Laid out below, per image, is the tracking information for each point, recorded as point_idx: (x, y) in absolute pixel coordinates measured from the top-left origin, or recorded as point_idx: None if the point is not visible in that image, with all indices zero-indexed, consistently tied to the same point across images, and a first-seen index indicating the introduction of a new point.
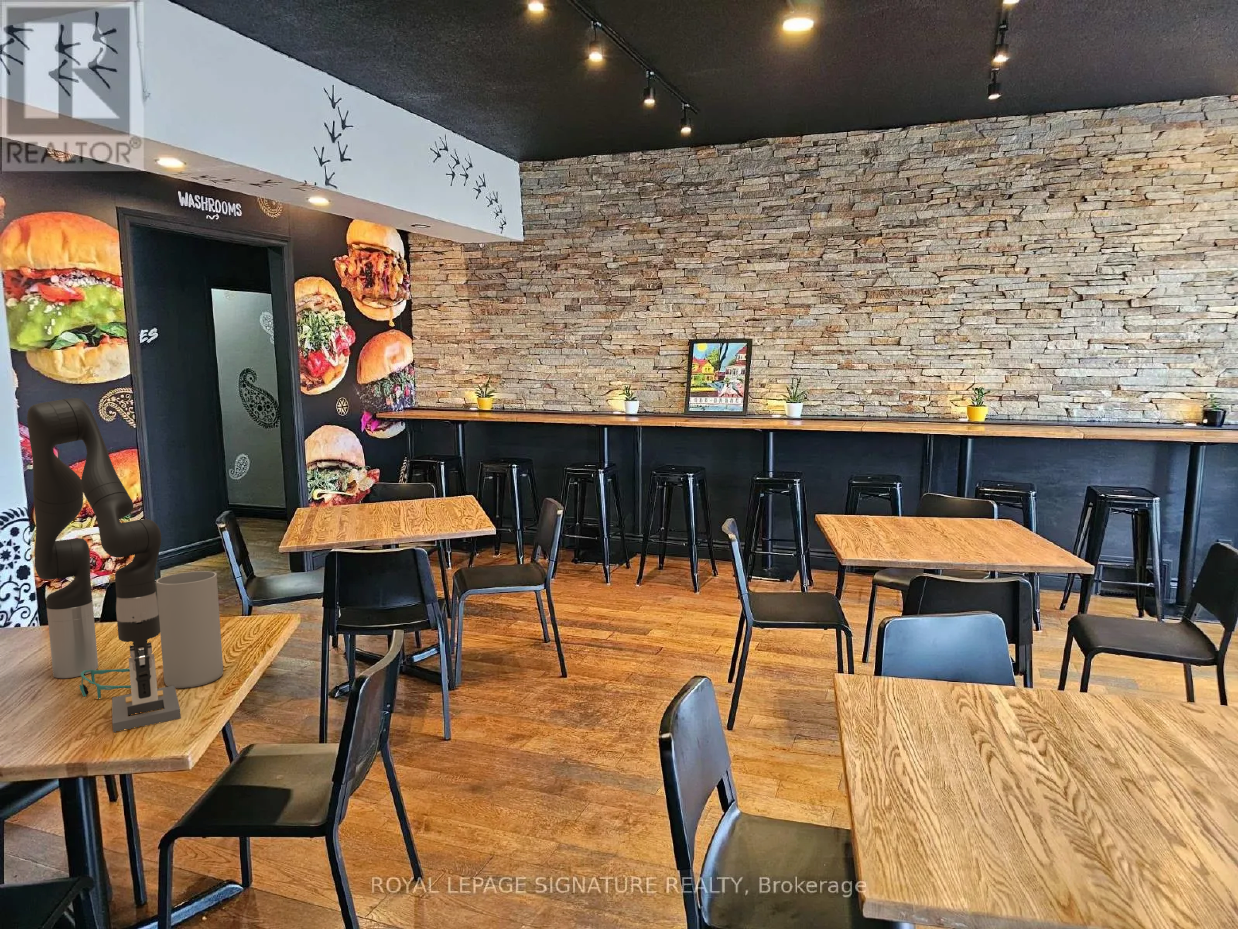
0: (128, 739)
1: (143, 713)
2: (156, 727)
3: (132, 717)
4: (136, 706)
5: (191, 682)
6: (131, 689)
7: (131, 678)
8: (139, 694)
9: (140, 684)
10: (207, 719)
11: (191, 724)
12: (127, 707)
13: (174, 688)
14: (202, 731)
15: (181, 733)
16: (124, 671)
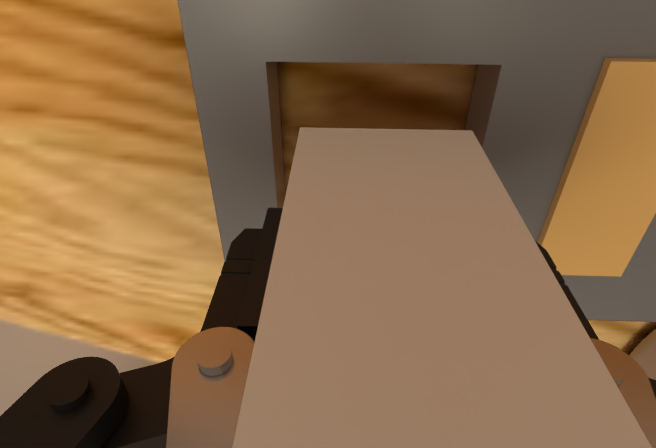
0: (35, 32)
1: (274, 158)
2: (173, 179)
3: (232, 91)
4: (485, 121)
5: (644, 367)
6: (282, 212)
7: (266, 324)
8: (261, 231)
9: (205, 325)
10: (175, 342)
11: (144, 297)
12: (501, 64)
13: (601, 317)
14: (45, 318)
15: (46, 260)
16: None
